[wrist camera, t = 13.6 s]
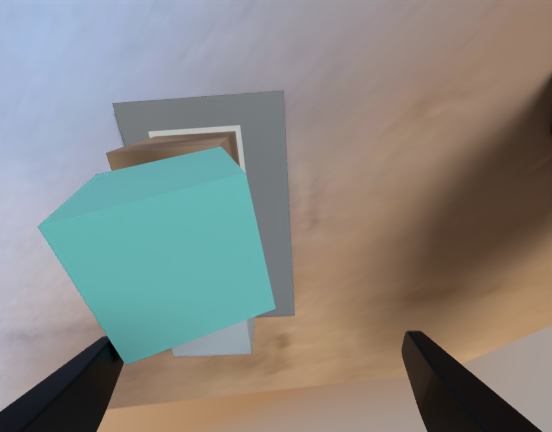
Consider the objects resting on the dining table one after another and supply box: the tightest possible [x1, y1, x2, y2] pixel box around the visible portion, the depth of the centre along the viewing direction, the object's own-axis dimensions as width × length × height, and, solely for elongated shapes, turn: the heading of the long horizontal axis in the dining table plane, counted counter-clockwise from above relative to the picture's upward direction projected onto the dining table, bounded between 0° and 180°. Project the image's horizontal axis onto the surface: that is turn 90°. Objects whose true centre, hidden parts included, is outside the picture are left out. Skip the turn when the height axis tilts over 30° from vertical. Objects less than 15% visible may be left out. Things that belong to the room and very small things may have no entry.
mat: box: [112, 91, 295, 317], centre depth 19 cm, size 10×17×1 cm, turn 4°
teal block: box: [38, 146, 276, 365], centre depth 10 cm, size 5×5×5 cm
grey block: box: [171, 317, 255, 357], centre depth 18 cm, size 5×5×5 cm
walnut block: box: [106, 131, 240, 171], centre depth 15 cm, size 5×5×5 cm
